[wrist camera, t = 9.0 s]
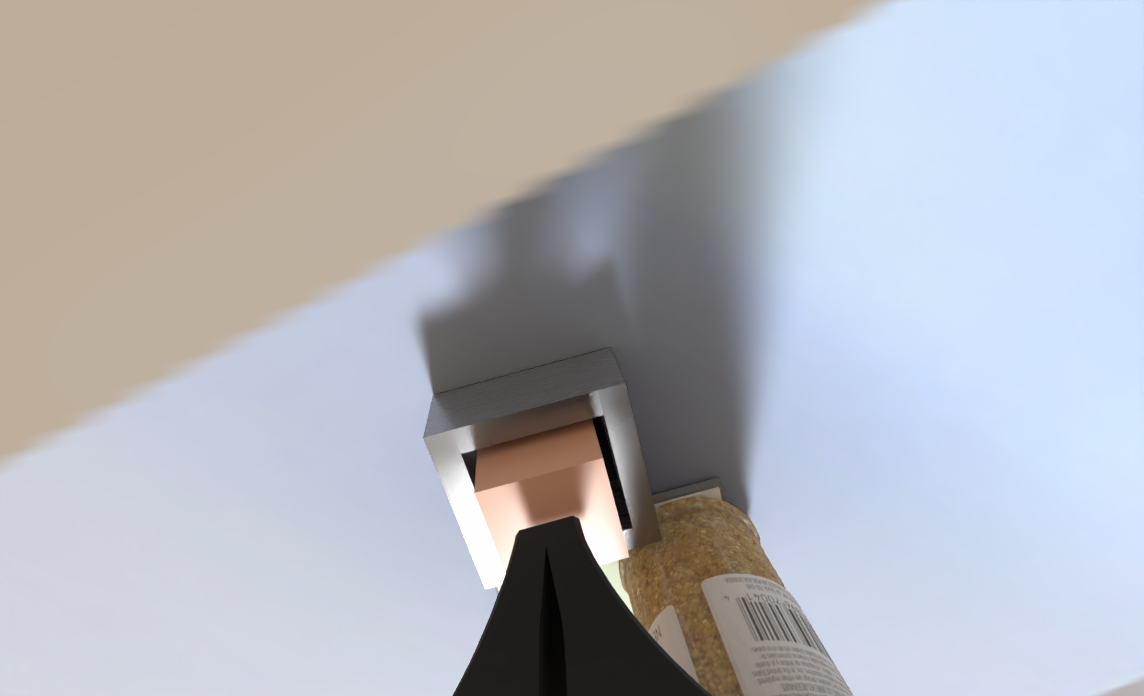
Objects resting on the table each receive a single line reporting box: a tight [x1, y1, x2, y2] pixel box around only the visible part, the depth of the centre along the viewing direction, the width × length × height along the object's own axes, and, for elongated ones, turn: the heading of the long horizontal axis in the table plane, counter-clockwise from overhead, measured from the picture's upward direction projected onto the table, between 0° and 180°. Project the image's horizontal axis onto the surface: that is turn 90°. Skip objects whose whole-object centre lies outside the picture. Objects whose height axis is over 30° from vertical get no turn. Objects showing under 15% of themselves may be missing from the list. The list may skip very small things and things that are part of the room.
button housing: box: [423, 348, 662, 589], centre depth 16 cm, size 5×5×2 cm
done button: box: [474, 418, 629, 573], centre depth 15 cm, size 3×3×2 cm
